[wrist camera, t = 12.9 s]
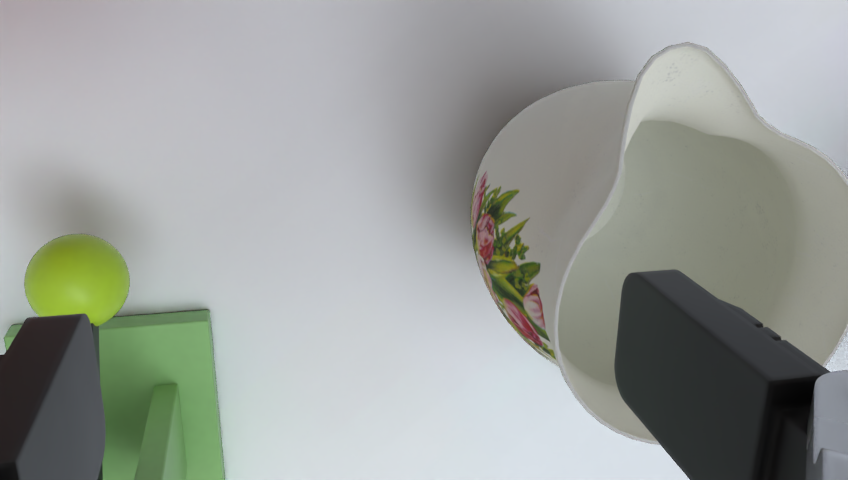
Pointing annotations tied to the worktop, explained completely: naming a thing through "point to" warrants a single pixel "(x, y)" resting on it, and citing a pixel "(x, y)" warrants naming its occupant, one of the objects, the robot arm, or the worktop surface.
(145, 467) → the green crank stand
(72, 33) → the worktop surface
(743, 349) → the robot arm
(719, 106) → the pitcher
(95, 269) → the switch lever
